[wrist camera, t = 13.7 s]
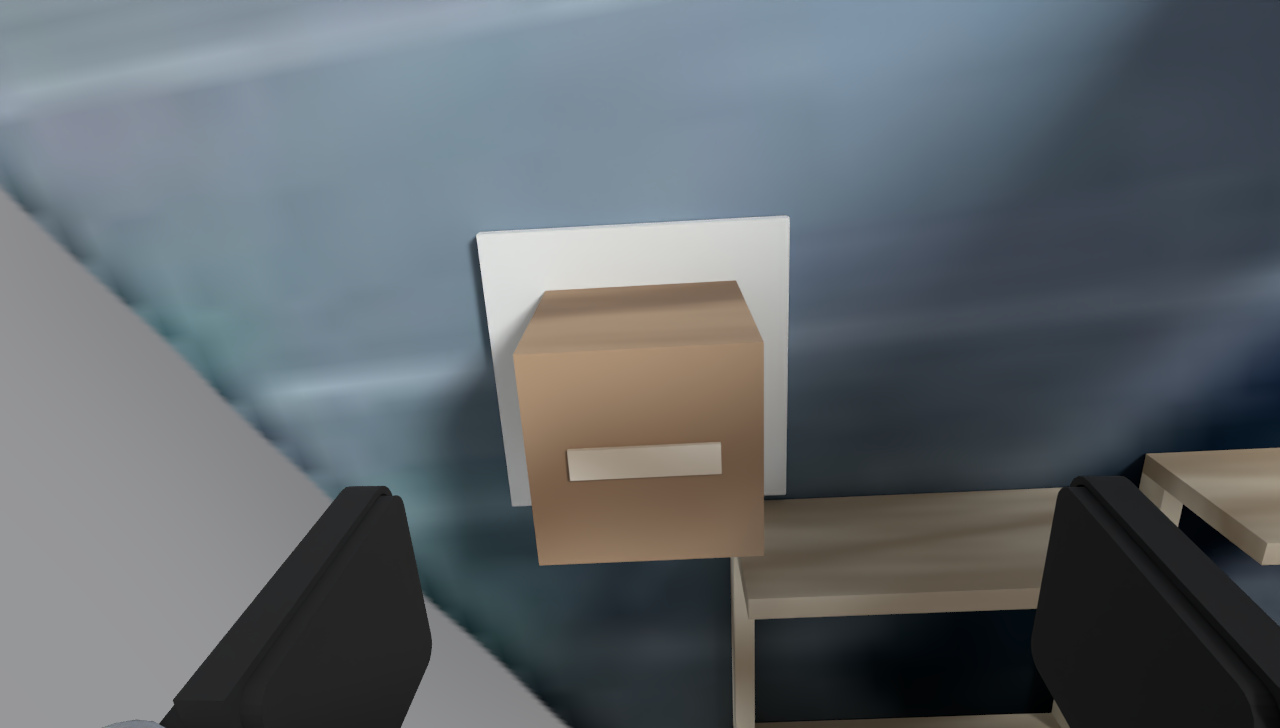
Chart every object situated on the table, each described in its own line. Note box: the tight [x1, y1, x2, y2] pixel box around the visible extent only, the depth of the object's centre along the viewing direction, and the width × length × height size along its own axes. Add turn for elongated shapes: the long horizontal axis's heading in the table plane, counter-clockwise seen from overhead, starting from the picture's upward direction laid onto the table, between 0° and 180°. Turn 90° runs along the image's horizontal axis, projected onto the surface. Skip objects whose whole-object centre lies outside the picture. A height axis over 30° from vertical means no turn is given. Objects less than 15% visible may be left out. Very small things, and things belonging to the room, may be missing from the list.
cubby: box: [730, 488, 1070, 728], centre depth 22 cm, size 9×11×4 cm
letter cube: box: [513, 280, 764, 566], centre depth 18 cm, size 5×5×5 cm
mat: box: [476, 215, 790, 507], centre depth 21 cm, size 8×8×1 cm
